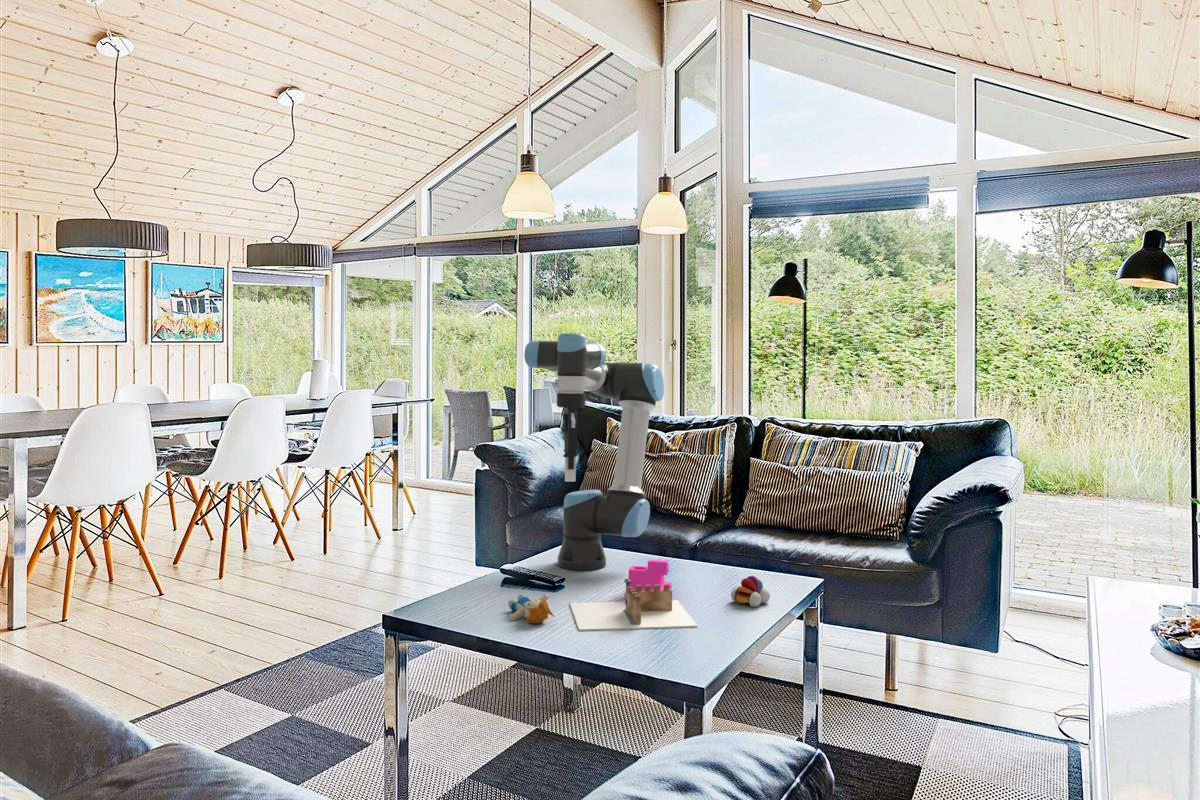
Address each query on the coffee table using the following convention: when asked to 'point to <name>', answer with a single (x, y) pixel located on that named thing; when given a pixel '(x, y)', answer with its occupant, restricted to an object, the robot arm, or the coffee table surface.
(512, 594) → the coffee table surface
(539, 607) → the toy
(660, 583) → the bracket
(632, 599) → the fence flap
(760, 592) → the rainbow petal cluster
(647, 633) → the coffee table surface
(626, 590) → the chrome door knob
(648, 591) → the fence fixed
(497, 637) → the coffee table surface
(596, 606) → the card
